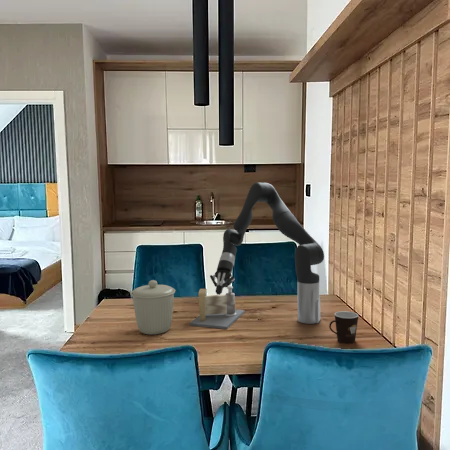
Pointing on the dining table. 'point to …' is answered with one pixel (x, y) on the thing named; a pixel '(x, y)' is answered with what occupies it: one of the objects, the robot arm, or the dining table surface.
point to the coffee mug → (345, 326)
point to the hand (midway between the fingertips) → (218, 293)
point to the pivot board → (218, 318)
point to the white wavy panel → (220, 304)
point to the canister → (153, 307)
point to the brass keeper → (202, 304)
